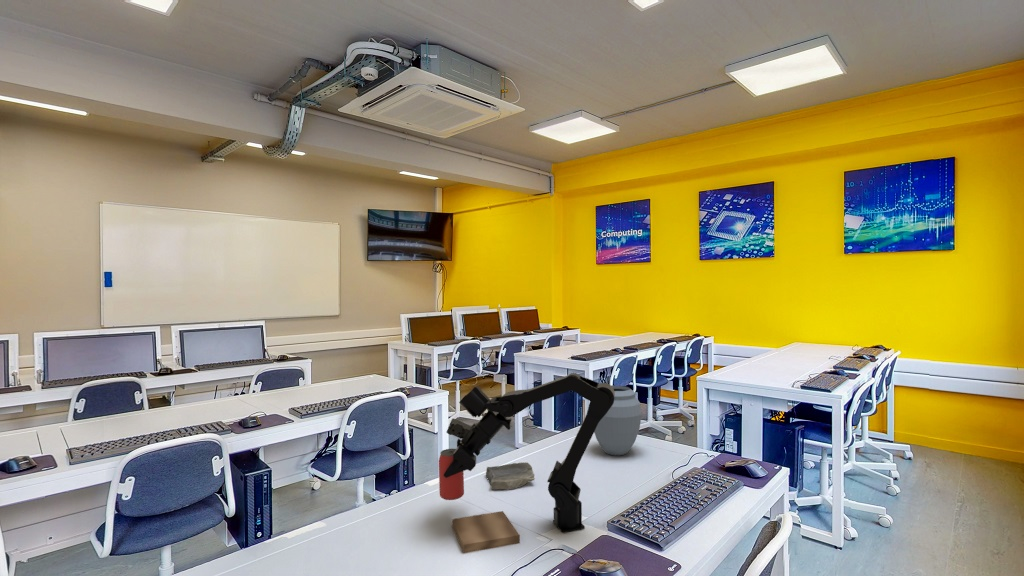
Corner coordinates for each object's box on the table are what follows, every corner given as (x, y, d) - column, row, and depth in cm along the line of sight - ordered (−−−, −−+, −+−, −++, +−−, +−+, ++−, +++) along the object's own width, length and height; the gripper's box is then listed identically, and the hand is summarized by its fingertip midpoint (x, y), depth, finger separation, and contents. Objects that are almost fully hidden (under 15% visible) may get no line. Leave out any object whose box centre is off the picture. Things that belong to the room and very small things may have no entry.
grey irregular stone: (491, 493, 153) (491, 481, 153) (484, 474, 168) (484, 463, 168) (540, 489, 156) (540, 476, 156) (528, 471, 171) (528, 460, 171)
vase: (643, 446, 195) (643, 384, 195) (640, 463, 176) (640, 394, 176) (593, 442, 201) (593, 382, 201) (586, 458, 182) (585, 392, 182)
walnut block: (502, 520, 135) (502, 511, 135) (519, 545, 122) (519, 534, 122) (452, 528, 131) (451, 519, 131) (463, 555, 117) (463, 544, 117)
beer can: (466, 491, 138) (465, 447, 138) (461, 501, 131) (460, 455, 131) (443, 491, 138) (441, 447, 138) (436, 501, 132) (435, 455, 132)
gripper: (466, 401, 144) (429, 441, 144) (460, 417, 126) (418, 463, 125) (494, 427, 144) (458, 467, 144) (492, 448, 126) (450, 493, 125)
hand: (446, 471), depth 135 cm, fingers closed on beer can, 6 cm apart
